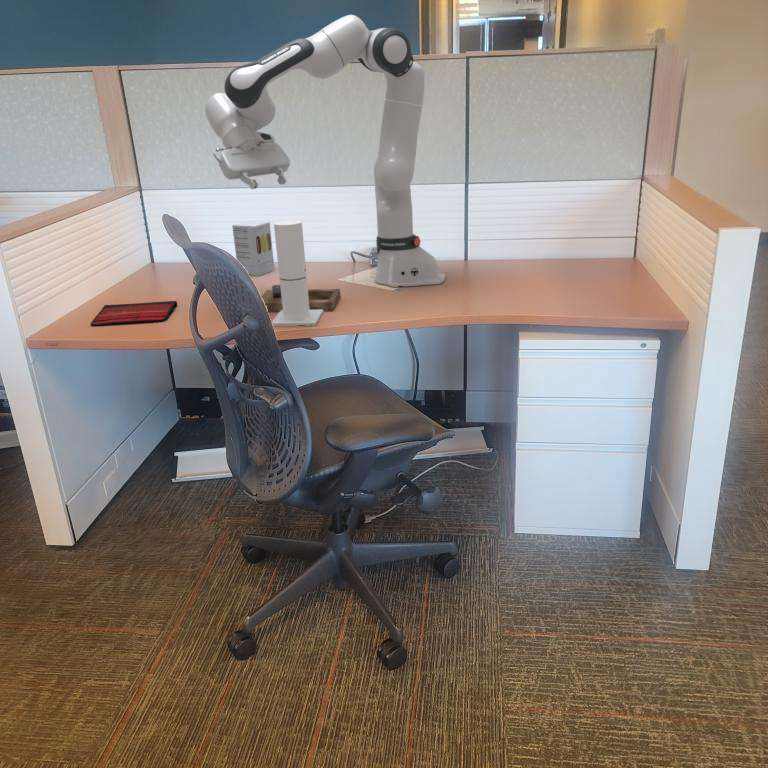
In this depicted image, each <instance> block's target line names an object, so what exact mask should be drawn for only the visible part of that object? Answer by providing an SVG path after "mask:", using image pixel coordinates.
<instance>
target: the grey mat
mask: <svg viewBox="0 0 768 768" xmlns="http://www.w3.org/2000/svg"><path fill="white" fill-rule="evenodd" d="M324 312H325V311H323V309H320V310H310V316H309V317H308V318H305V319H301V320H287V319H285V318H284V316H283V310H281V311H280V312H278V313H277V314H276V316H275V317H274V318H273V320H272V321H271V322H272V323H273V325H274V326H273V327H301V326H300V325H306V326H305V327H316V326H317V324H318V323H317V322H320V319H321V318H322V316H323V314H324ZM321 315H322V316H321ZM320 317H321V318H320ZM298 325H299V326H298ZM311 325H312V326H311ZM315 325H316V326H315Z"/></svg>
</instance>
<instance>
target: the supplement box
mask: <svg viewBox="0 0 768 768" xmlns="http://www.w3.org/2000/svg"><path fill="white" fill-rule="evenodd" d="M231 228H232V235H233V241H234V244H233V245H234V251H235V258H236V259H237V260H238V261H239V262H240V263H241V264H242V265H243V266H244V267H245V269H246V270H247V271H248V273H249V274H250V275H249V276H253V277H259V276H263V275H265V274H268V273H271V272H273V270H274V271H276V270H275V261H274V250H273V241H272V231H271V223H270V221H257V220H247V221H245V222H241V223H236V224H233V225H232V227H231ZM237 260H236V261H237Z"/></svg>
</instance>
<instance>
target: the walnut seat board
mask: <svg viewBox="0 0 768 768" xmlns="http://www.w3.org/2000/svg"><path fill="white" fill-rule="evenodd" d="M261 297H262V298H263V300H264V302H265V305H266V306H267V309H268V311H269V312H268V313H277V312H278V311H279V312H280V311H281V310H283V307H282V297H281V288H280V284H275V285H272V286H271V289H267V290H266V291H265V292H264V293H263V294H262V295H261ZM308 298H309V309H310V310H320V309H323V311H324V312H334V310H335V308H336V306H337V305H338V303H337V302H339V301H340V298H341V289H340V288H316V289H313V288H312V289H309V288H308ZM336 304H337V305H336ZM274 311H275V312H274ZM279 312H278V313H279Z"/></svg>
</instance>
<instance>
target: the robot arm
mask: <svg viewBox="0 0 768 768" xmlns="http://www.w3.org/2000/svg"><path fill="white" fill-rule="evenodd" d="M356 60H357V61H359V62H360V63H361V64H362V66H363V67H364V68H366V69H367V70H369V71H371V72H373V73H374V72H376V73H383V74H384V76H385V79H386V91H385V97H384V98H385V99H384V104H383V105H384V106H383V112H382V119H381V124H380V125H381V126H380V133H379V134H380V136H379V144H378V156H377V158H376V159H375V162H374V164H373V176H374V180H373V181H374V192H375V193H374V194H375V205H376V207H375V208H376V221H377V223H376V227H377V236H376V239H375V240H376V242H375V245H376V253H377V266H376V272H375V277H374V281H375V282H376V283H378V284H381V285H385V286H389V287H393V288H398V286H403V287H414V286H428V285H440V284H442V283H443V282H444V281H445V280H446V275H445V273H444V272H443V271H441V270H439V267H438V263H437V260H436V258H435V257H434V256H433V255H432V254H430V253H429V252H428V251H426V250H425V249H424V248H422V247H421V239H420V237H419V235H416V234H414V227H413V226H414V225H413V223H414V222H413V221H414V220H413V203H412V192H411V191H412V190H411V183H412V181H413V178H414V173H415V164H416V156H417V148H418V147H417V145H418V135H419V128H420V122H421V117H422V110H423V103H424V96H425V70H424V68H423V66H422V65H420V64H419V63H417V62H416V61H414V56H413V53H412V49H411V44H410V40H409V38H408V37H407V35H406V34H405V33H404V32H403V31H401V30H400V29H397V28H394V27H381V28H377V29H374V30H369V28H367V26H366V24H365V23H364V22H363V20H362V19H361V18H360V17H359V16H357V15H354V14H348V15H347V14H346V15H345V16H342V17H340V18H338V19H336V20H335V21H333V22H331V23H329V24H328V25H326V26H325V27H323V28H321V29H320V30H318V32H316V33H313V35H310V36H309V37H306V38H303V37H302V38H301V37H300V38H296V39H293V40H291V41H289V42H287V43H285V44H283V45H281V46H280V47H278V48H276V49H275V50H273V51H271V52H268V53H267V54H265V55H263V56H262V57H260V58H258V59H256V60H255V61H252V62H249V63H247V64H243V65H242V64H241V65H240V66H237V67H235V68H233V69H232V70H231V71H230V72H229V73H228V75H227V76H226V79H225V81H224V87H223V88H224V92H225V93H223V92H216V93H214V94H213V95H211V96H210V97H209V98H208V100H207V101H206V104H205V108H204V109H205V116H206V118H207V120H208V122H209V124H210V127H211V128H212V130H213V132H214V133H215V134H216V136H217V137H218V138H220V139H221V141H222V145H223V147H218V148H216V149H215V150H214V151H213V157H214V158H215V160H216V161H217V163H218V166H219V167H220V170H221V172H222V174H223V175H224V177H225V178H226V179H227V180H239V179H240V181H241V182H243V183H244V184H246V185H248V187H249V188H250V189H251V190H253V189H257V188H258V186H259V183H258V182H257V180H256V179H253V177H260V176H266V175H272V174H274V175H276V176H278V178H277V180H276V181H277V183H278V184H279V185H280V186H282V185H286V183H287V178H286V177H285V172H287V171H288V169H289V167H290V165H291V160H290V158H289V156H288V155H287V153H286V152H285V150H284V149H283V148H282V147H281V146H280V145H279V144H278V143H277V142H275V141H276V139H275V137H274V135H273V134H271V133H266V132H265V133H264V132H261V131H259V130H261V129H262V128H265V127H266V126H268V125H269V124H271V122H272V121H273V120H274V117H275V116H276V115H275V114H276V105H275V104H274V101H273V100H272V97H271V95H270V93H269V91H268V89H267V87H268V85H269V84H270V83H271V82H274V81H275V80H277V79H279V78H280V77H282V76H284V75H286V74H287V73H289V72H291V71H294V70H303V71H304V72H306V73H307V74H308V75H310V76H311V77H314V78H316V79H321V80H322V79H323V80H324V79H328V78H330V77H333V76H334V75H336V74H337V73H339V72H341V70H343V69H344V68H346V67H347V66H348V65H350V64H351V63H352V62H354V61H356Z"/></svg>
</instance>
